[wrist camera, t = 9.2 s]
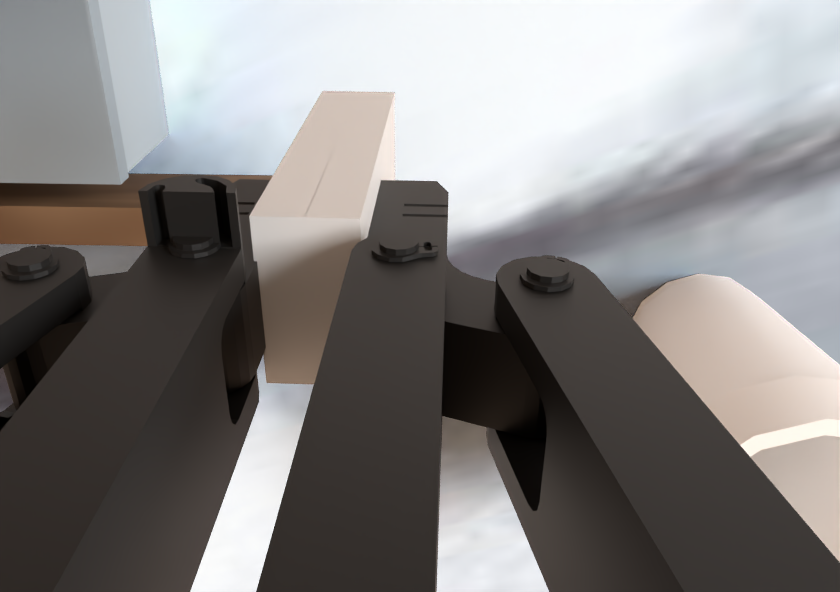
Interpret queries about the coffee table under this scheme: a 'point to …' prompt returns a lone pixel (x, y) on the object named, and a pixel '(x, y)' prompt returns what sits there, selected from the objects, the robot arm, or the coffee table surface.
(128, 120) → the gray block
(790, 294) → the coffee table surface
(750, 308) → the foam cup
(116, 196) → the bay
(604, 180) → the coffee table surface
